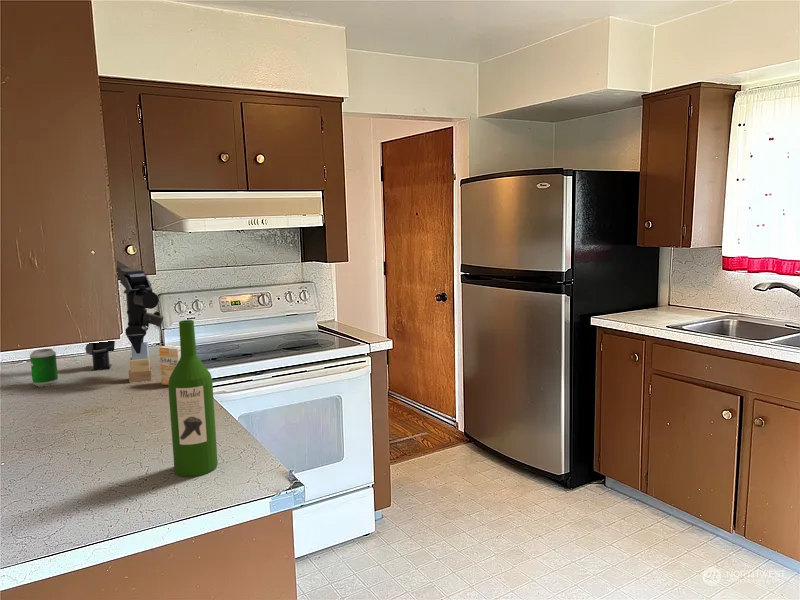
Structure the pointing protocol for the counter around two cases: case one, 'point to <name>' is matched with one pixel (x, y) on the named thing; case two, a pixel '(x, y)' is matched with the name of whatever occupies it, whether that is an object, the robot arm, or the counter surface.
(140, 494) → the counter surface
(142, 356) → the blue cube
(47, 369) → the soda can
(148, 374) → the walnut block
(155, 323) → the robot arm
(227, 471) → the counter surface
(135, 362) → the oak block
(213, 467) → the wine bottle
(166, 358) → the supplement box
